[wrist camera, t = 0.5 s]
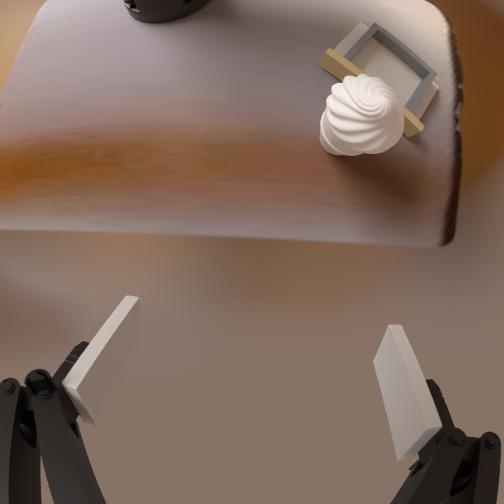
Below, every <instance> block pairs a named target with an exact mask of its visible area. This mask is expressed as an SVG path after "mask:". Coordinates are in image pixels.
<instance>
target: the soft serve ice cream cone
mask: <svg viewBox="0 0 504 504" xmlns="http://www.w3.org/2000/svg"><path fill="white" fill-rule="evenodd" d="M331 92H332V94H331V95H329V96H328V97H327V100H326V104H327V106H326V110H325V111H324V113H323V115H322V118H321V123H320V126H321V130H320V137H319V138H320V143H321V145H322V147H323V148H324V149H325V150H326V151H327V152H328V153H330V154H333V155H348V156H356V155H360V154H362V153H367V154H377V153H382V152H384V151H386V150H388V149H390V147H392V146H393V145H395V144H396V143H397V142H398V141H399V139H400V138H401V136H402V134H403V131H404V109H403V106H402V104H401V102H400V100H399V99H398V97H397V94H396V92H395V91H394V90H393V89H392V88H391V87H390V86H389V85H387V84H385V82H384V81H383V80H382V79H380V78H377V77H369V76H368V75H366V74H360V75H358V76H357V77H354V76H346V77H345V78H344V79H343V83H336V84H334V85H333V86H332V88H331Z"/></svg>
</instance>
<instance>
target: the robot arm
mask: <svg viewBox="0 0 504 504" xmlns="http://www.w3.org/2000/svg"><path fill="white" fill-rule="evenodd" d="M209 1H210V0H124V4H125V6H126V8H127V10H128V12H129V13H130V15H131V16H132V17H134V18H135V19H137V20H140V21H143V22H149V23H159V22H167V21H172V20H176V19H179V18H182V17H185V16H187V15H189V14H191V13H193V12H195V11H197V10H199V9H200V8H202V7H203V6H204V5H206V4H207V3H208V2H209ZM145 337H146V335H145V330H144V325H143V319H142V312H141V306H140V300H139V297H134V296H128V295H126V297H125V298H124V299H123V300H122V302H121V303H120V304H119V306H118V307H117V308H116V309H115V311H114V312H113V313H112V315H111V316H110V317H109V319H108V320H107V321H106V322H105V324H104V325H103V326H102V328H101V329H100V330H99V332H98V333H97V334H96V336H95V337H94V338H93V340H92V341H91V342H90V343H88V342H84V341H83V342H81V343H80V344H78V345H77V346H75V347H74V349H73V350H72V351H71V353H70V355H68V357H67V358H66V359H65V361H64V362H63V364H62V365H61V366H60V367H59V369H58V370H57V372H56V373H55V374H54V376H53V377H52V378H51V376H50V374H49V373H48V372H47V371H46V370H43V369H36V370H33V371H31V372H30V373H29V374H27V376H26V378H25V382H24V383H25V385H26V387H23V386H21V385H20V384H19V382H18V381H17V380H16V379H14V378H7V379H5V380H3V381H2V382H1V383H0V504H42V503H41V481H40V480H41V479H40V459H41V458H40V457H41V456H42V461H43V465H44V469H45V473H46V477H47V481H48V484H49V488H50V492H51V495H52V498H53V501H54V504H106V502H105V500H104V497H103V495H102V493H101V490H100V488H99V485H98V483H97V481H96V478H95V475H94V473H93V470H92V467H91V464H90V461H89V459H88V456H87V453H86V450H85V447H84V443H83V440H82V437H81V433H80V430H79V426H78V423H77V421H76V419H77V417H78V415H80V417H81V418H82V420H83V421H84V422H86V423H89V424H92V425H94V426H97V425H98V424H99V422H100V420H101V418H102V416H103V414H104V412H105V410H106V407H107V406H108V404H109V402H110V400H111V399H112V397H113V395H114V393H115V391H116V389H117V387H118V386H119V384H120V382H121V380H122V378H123V376H124V374H125V372H126V371H127V369H128V367H129V365H130V364H131V362H132V360H133V358H134V356H135V355H136V353H137V351H138V349H139V348H140V346H141V344H142V342H143V341H144V339H145ZM373 363H374V367H375V370H376V374H377V378H378V381H379V384H380V389H381V392H382V396H383V400H384V404H385V408H386V411H387V416H388V420H389V425H390V429H391V434H392V438H393V443H394V448H395V453H396V457H397V461H402V460H408V459H412V458H413V457H414V456H415V455H416V454H417V453H418V455H419V460H417V461H416V462H415V463H414V464H413V465H412V466H411V467H410V468H409V470H411V469H412V468H413V469H412V470H411V472H410V474H409V476H408V477H407V479H406V480H405V482H404V484H403V485H402V487H401V488H400V490H399V491H398V493H397V494H396V496H395V498H394V499H393V500H392V502H391V503H390V504H441V503H442V504H496V501H497V493H498V485H499V475H500V460H501V442H500V439H499V437H498V436H497V435H496V434H495V433H493V432H486V433H484V434H483V435H482V436H481V437H480V438H474V437H467V436H466V435H465V433H464V432H463V431H462V430H461V429H458V428H455V426H454V424H453V421H452V418H451V416H450V413H449V411H448V408H447V406H446V403H445V401H444V398H443V397H442V393H441V391H440V388H439V386H438V385H437V384H436V383H435V382H434V381H433V380H432V379H430V380H425V378H424V376H423V373H422V371H421V369H420V366H419V364H418V362H417V359H416V357H415V354H414V352H413V350H412V348H411V345H410V343H409V341H408V339H407V337H406V335H405V332H404V330H403V328H402V326H401V325H389V326H388V328H387V330H386V333H385V335H384V338H383V340H382V343H381V345H380V347H379V350H378V352H377V354H376V357H375V359H374V361H373Z"/></svg>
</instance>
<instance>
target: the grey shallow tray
mask: <svg viewBox="0 0 504 504" xmlns="http://www.w3.org/2000/svg"><path fill="white" fill-rule="evenodd" d="M319 66H321V67H322V68H324V69H325V70H327V71H328V72H329V73H331V74H332V75H334V76H335V77H336V78H338V79H339V80H340V81H342V82H343V79H344V78H345V77H346V76H354V77H357V76H358V75H360V74H366V75H368V76H369V77H377V78H380V79H382V80H383V81H384V82H385V84H387V85H389V86H390V87H391V88H392V89H393V90H394V91H395V92H396V94H397V97H398V99H399V100H400V102H401V104H402V106H403V109H404V131H403V134H404V135H406V136H407V137H408V138H409V137H411V136H413V135H415V134H417V133H420V132H421V131H422V130H423V128H424V125H423V124H422V123H421V122H420V121H419V120H420V118H421V117H422V115H423V113H424V112H425V110H426V108H427V107H428V105H429V103H430V101H431V100H432V98H433V96H434V95H435V93H436V91H437V89H438V88H439V86H438V85H437V84H436V83H435V82H434V81H433V80H434V78H435V77H436V75H437V74H436V73H435V72H434V71H433V70H432V69H431V68H430V67H429V66H428V65H427V64H426V63H424V62H423V61H422V60H421V59H420V58H419V57H418V56H417V55H416V54H414V53H413V52H412V51H411V50H410V49H409V48H407V47H406V46H405V45H404V44H403V43H401V42H400V41H399V40H398V39H396V38H395V37H394V36H392V35H391V34H390V33H389V32H387V31H386V30H385V29H383V28H382V27H381V26H379V25H378V24H376V23H374V24H373V25H372V26H371V27H370V28H369V27H368V26H366V25H365V24H364V23H362V22H360V23H359V24H358V25H357V26H356V27H355V28H354V29H353V30H352V31H351V32H350V33H349V34H348V35H347V36H346V37H345V38H344V39H343V40H342V41H341V42H340V43H339V44H338V45H337V46H336V47H335V48H334V49H331V48H329V49H328V50H327V51H326V52H325V53H324V55H323V57H322V59H321V61H320V63H319Z"/></svg>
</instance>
